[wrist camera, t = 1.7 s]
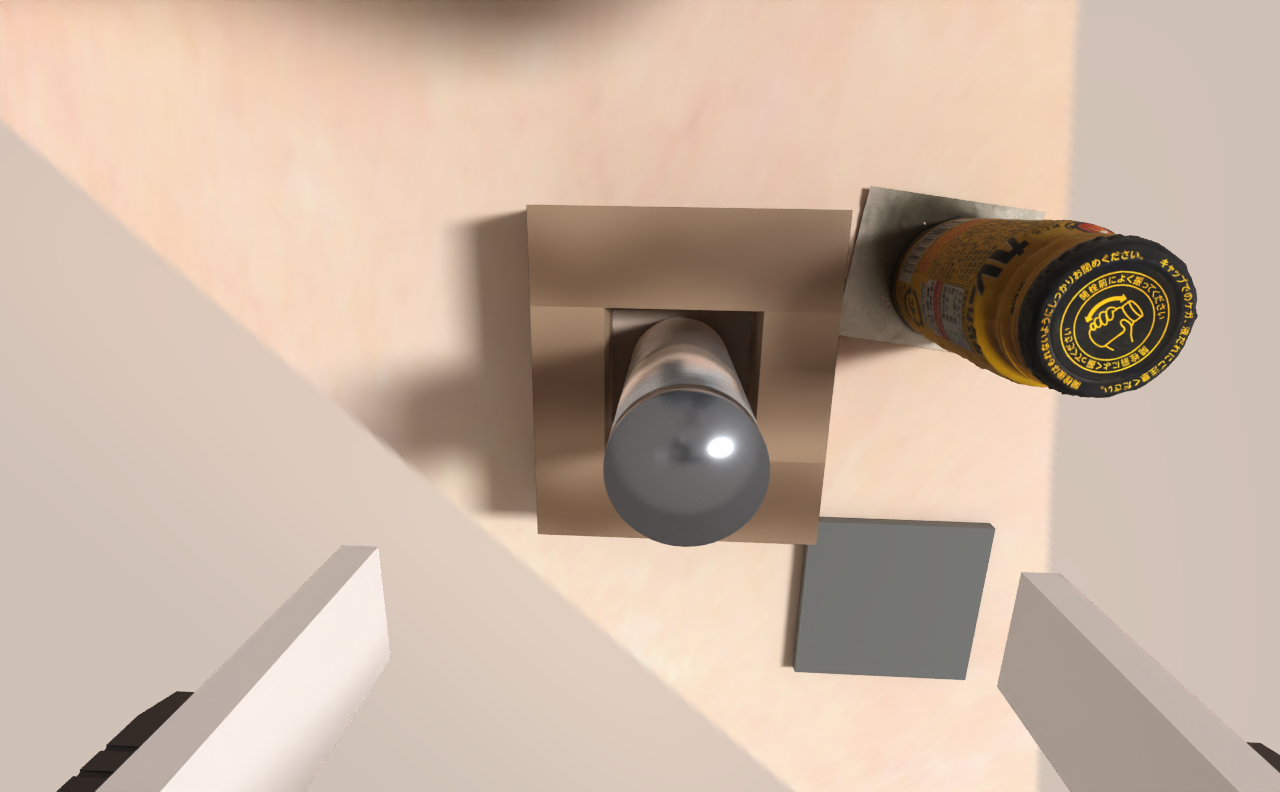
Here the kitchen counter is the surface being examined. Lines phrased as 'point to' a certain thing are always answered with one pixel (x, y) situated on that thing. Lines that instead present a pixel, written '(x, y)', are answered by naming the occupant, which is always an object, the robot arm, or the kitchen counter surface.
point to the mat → (891, 597)
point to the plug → (684, 440)
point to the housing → (687, 280)
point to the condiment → (1018, 292)
